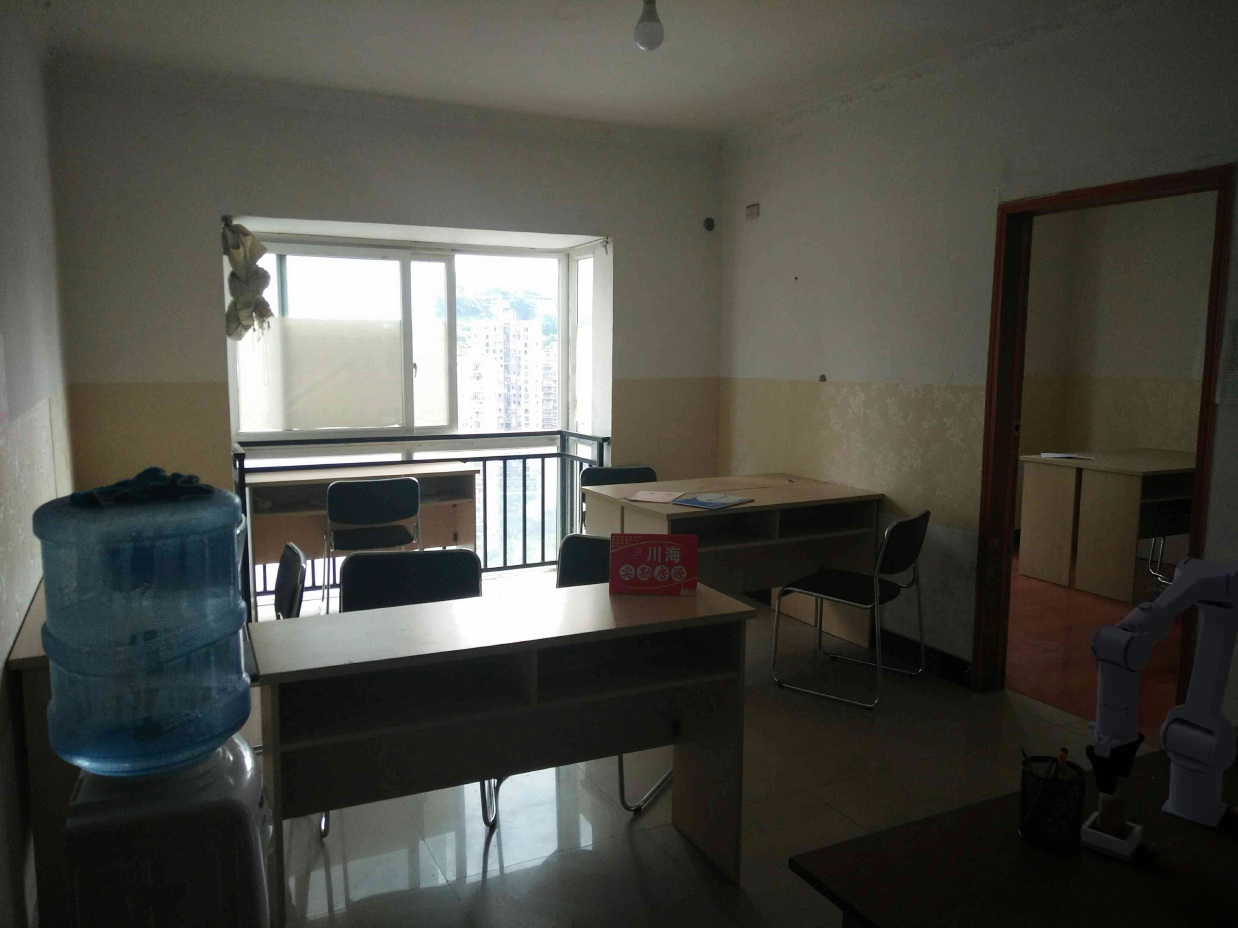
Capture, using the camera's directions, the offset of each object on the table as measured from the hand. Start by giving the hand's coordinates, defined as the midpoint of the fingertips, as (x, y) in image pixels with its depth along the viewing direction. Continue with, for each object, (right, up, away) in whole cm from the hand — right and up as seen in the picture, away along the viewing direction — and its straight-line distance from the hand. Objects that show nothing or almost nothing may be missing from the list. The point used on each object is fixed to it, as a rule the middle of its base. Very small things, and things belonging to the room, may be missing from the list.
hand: (1113, 783), depth 139 cm
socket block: (0, -10, +1) cm, 10 cm away
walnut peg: (0, -9, +1) cm, 9 cm away
